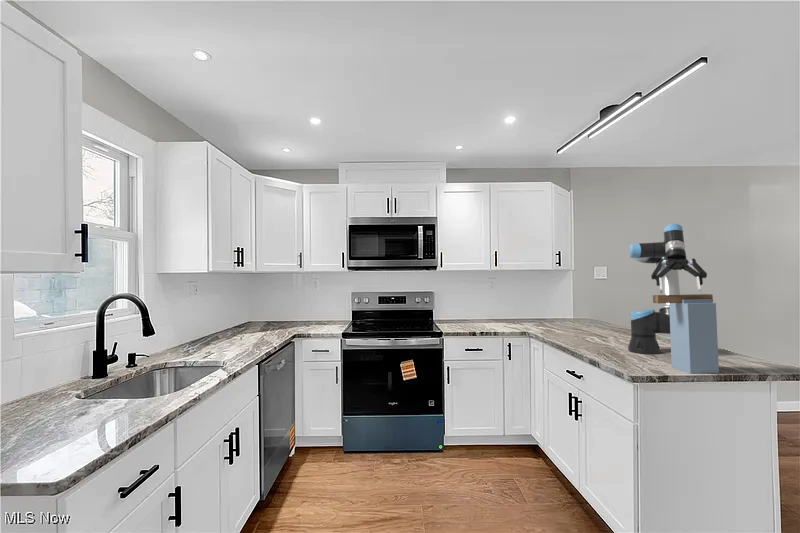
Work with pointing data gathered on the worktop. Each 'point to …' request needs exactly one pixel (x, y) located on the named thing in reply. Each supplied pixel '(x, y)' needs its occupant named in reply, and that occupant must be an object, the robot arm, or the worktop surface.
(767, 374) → the worktop surface
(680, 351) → the tall blue prism
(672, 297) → the brown block
